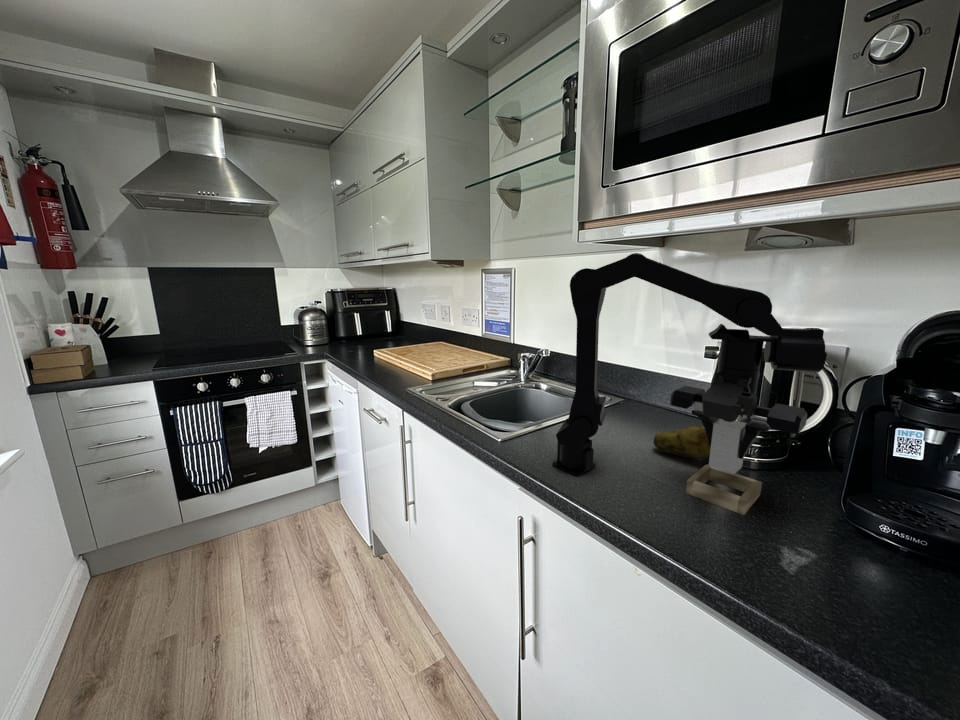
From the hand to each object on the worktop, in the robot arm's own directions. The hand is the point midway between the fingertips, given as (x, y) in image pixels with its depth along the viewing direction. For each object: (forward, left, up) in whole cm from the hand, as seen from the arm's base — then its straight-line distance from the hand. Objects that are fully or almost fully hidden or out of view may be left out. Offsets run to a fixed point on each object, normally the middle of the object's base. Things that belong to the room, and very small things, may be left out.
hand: (726, 453), depth 67 cm
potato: (-10, +10, -8) cm, 16 cm away
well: (0, 0, -8) cm, 8 cm away
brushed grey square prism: (0, 0, -2) cm, 2 cm away
